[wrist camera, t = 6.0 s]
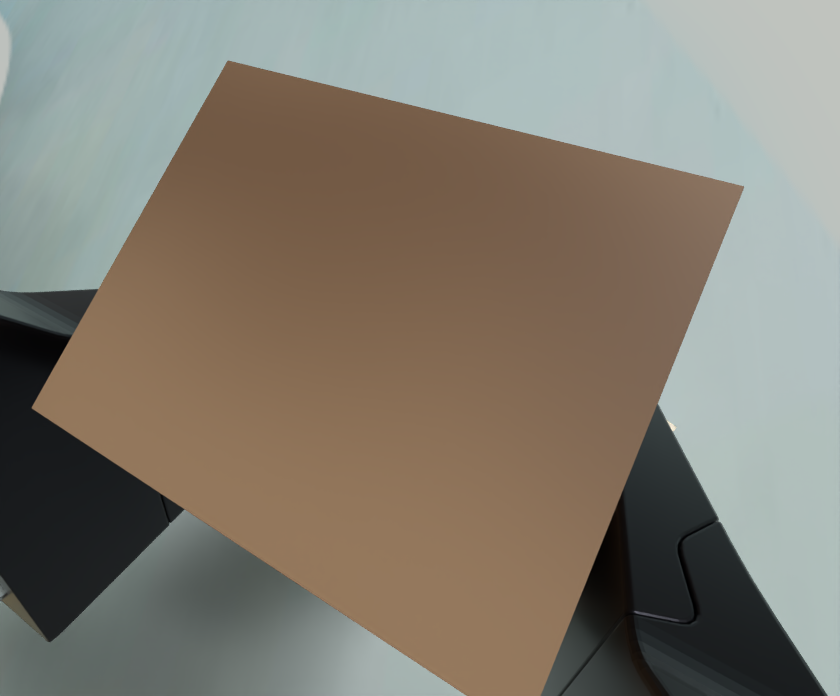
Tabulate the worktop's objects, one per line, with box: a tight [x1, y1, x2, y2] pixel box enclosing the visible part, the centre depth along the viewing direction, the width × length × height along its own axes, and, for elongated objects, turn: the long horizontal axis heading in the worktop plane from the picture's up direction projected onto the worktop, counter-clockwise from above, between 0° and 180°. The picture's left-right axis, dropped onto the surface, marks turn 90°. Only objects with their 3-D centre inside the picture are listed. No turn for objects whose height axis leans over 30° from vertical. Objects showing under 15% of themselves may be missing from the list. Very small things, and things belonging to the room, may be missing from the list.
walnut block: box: [32, 61, 744, 696], centre depth 10 cm, size 4×5×12 cm
